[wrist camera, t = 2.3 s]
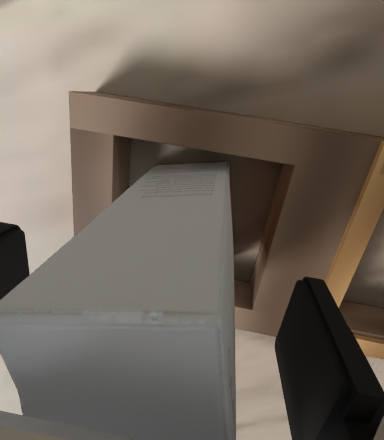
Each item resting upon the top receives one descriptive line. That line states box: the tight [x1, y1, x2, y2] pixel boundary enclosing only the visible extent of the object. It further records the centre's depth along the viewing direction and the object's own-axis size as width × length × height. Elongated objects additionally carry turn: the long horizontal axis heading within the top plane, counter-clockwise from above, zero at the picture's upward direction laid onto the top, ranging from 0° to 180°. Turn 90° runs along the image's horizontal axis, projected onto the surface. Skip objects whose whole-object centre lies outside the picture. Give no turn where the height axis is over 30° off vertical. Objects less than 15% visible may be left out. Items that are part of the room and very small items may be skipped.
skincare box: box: [0, 162, 236, 440], centre depth 11 cm, size 6×4×12 cm
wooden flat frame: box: [69, 91, 384, 359], centre depth 15 cm, size 24×11×3 cm, turn 82°
